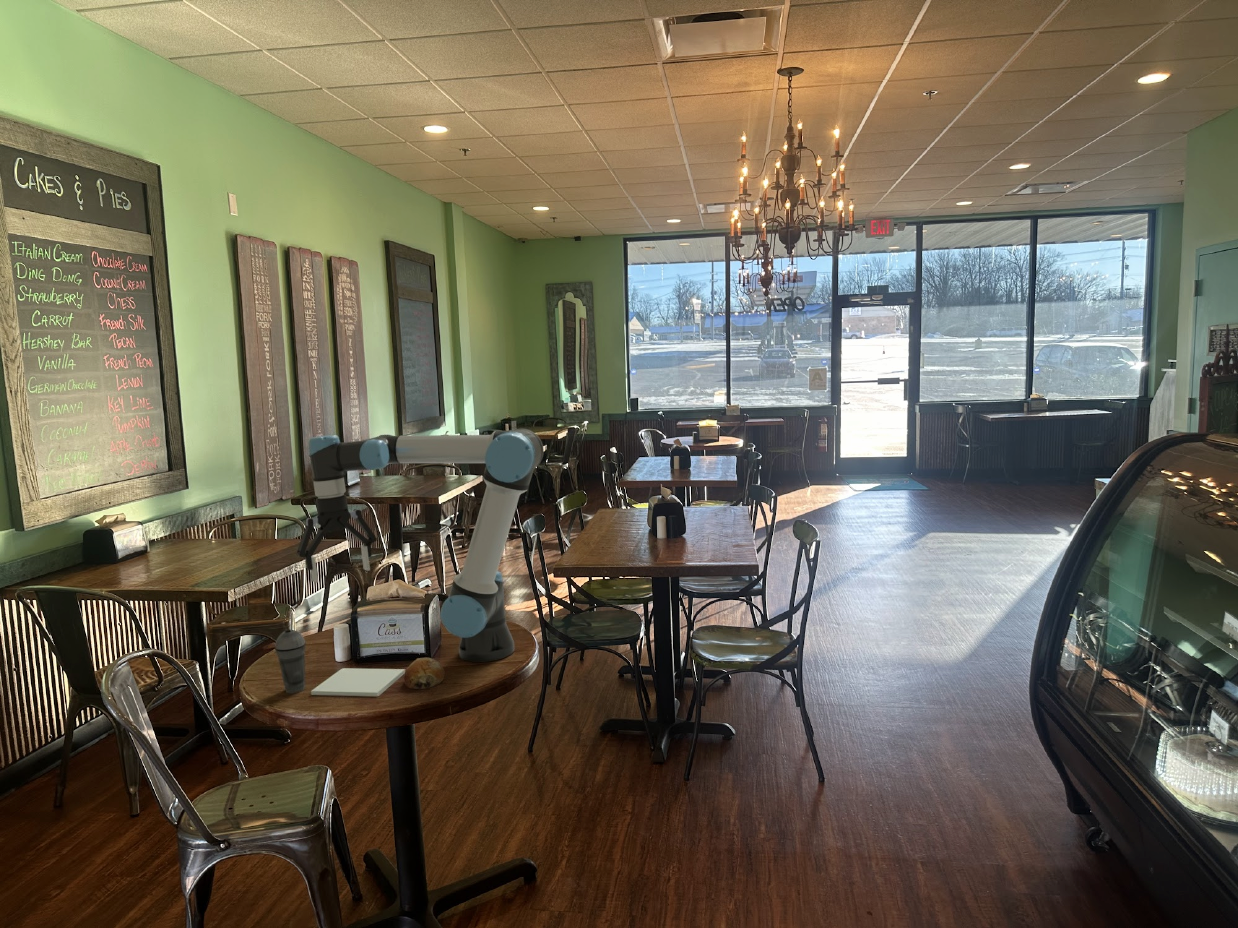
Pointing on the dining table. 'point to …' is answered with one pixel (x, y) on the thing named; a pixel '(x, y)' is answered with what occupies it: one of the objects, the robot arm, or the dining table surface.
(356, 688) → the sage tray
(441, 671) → the bread roll
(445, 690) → the dining table surface
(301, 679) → the beverage cup
